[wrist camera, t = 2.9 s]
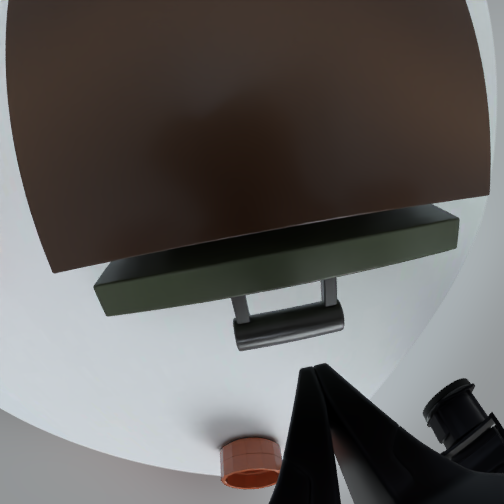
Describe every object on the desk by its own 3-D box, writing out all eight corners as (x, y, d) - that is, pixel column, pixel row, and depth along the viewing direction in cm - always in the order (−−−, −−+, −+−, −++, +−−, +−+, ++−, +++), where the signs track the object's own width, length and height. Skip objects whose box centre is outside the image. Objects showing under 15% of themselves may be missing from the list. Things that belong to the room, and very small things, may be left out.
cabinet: (369, 155, 16) (489, 195, 7) (137, 195, 16) (52, 274, 7) (325, -52, 10) (390, -133, 1) (105, -21, 10) (31, -93, 1)
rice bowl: (276, 430, 26) (282, 464, 22) (281, 455, 28) (287, 484, 25) (214, 438, 26) (214, 472, 22) (228, 462, 28) (229, 491, 25)
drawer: (370, 271, 18) (435, 349, 11) (177, 308, 18) (157, 409, 11) (333, -22, 10) (397, -88, 3) (111, 9, 10) (42, -49, 3)
